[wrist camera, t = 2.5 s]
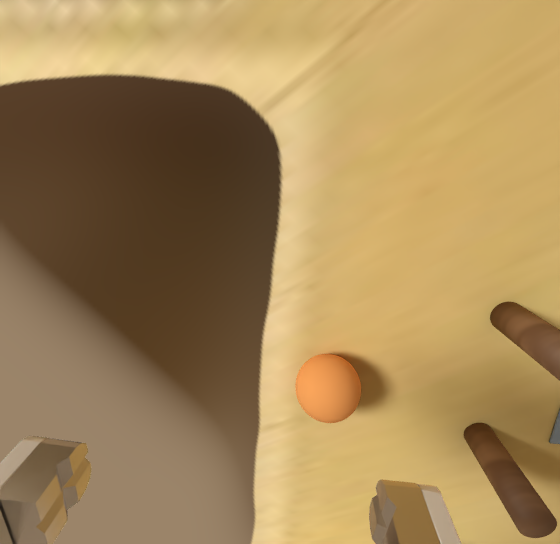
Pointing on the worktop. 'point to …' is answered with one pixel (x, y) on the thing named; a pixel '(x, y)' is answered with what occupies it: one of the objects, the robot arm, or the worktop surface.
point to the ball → (328, 388)
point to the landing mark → (556, 431)
